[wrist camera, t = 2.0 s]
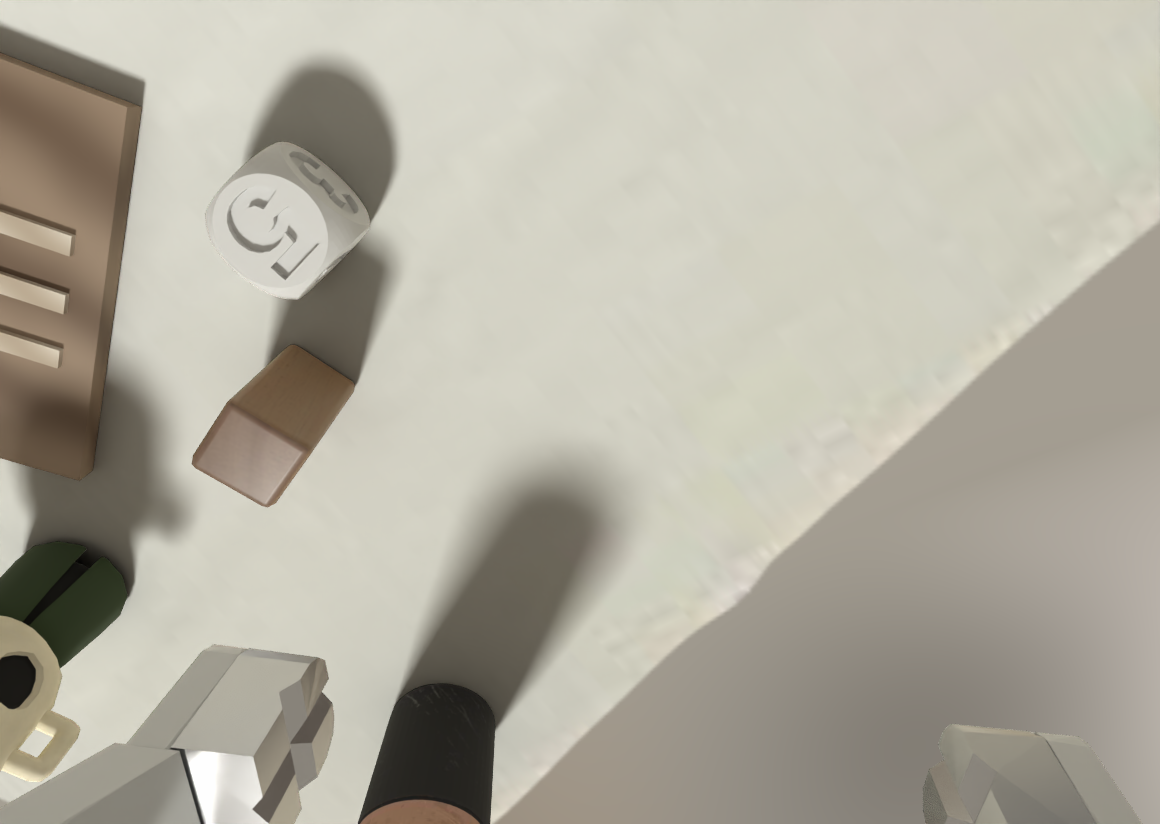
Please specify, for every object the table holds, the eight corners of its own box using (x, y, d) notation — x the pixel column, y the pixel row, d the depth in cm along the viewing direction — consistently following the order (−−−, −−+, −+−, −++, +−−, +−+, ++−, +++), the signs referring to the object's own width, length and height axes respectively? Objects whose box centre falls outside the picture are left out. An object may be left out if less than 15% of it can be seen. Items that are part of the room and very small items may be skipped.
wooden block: (256, 395, 38) (184, 466, 30) (293, 339, 36) (227, 399, 29) (321, 435, 39) (268, 513, 31) (359, 382, 37) (313, 450, 30)
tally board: (92, 470, 39) (75, 483, 38) (-65, 424, 37) (-88, 436, 36) (142, 107, 32) (123, 107, 30) (-51, 33, 30) (-80, 29, 29)
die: (316, 286, 35) (281, 314, 31) (234, 211, 34) (184, 228, 29) (382, 217, 34) (355, 236, 29) (300, 136, 32) (259, 142, 28)
